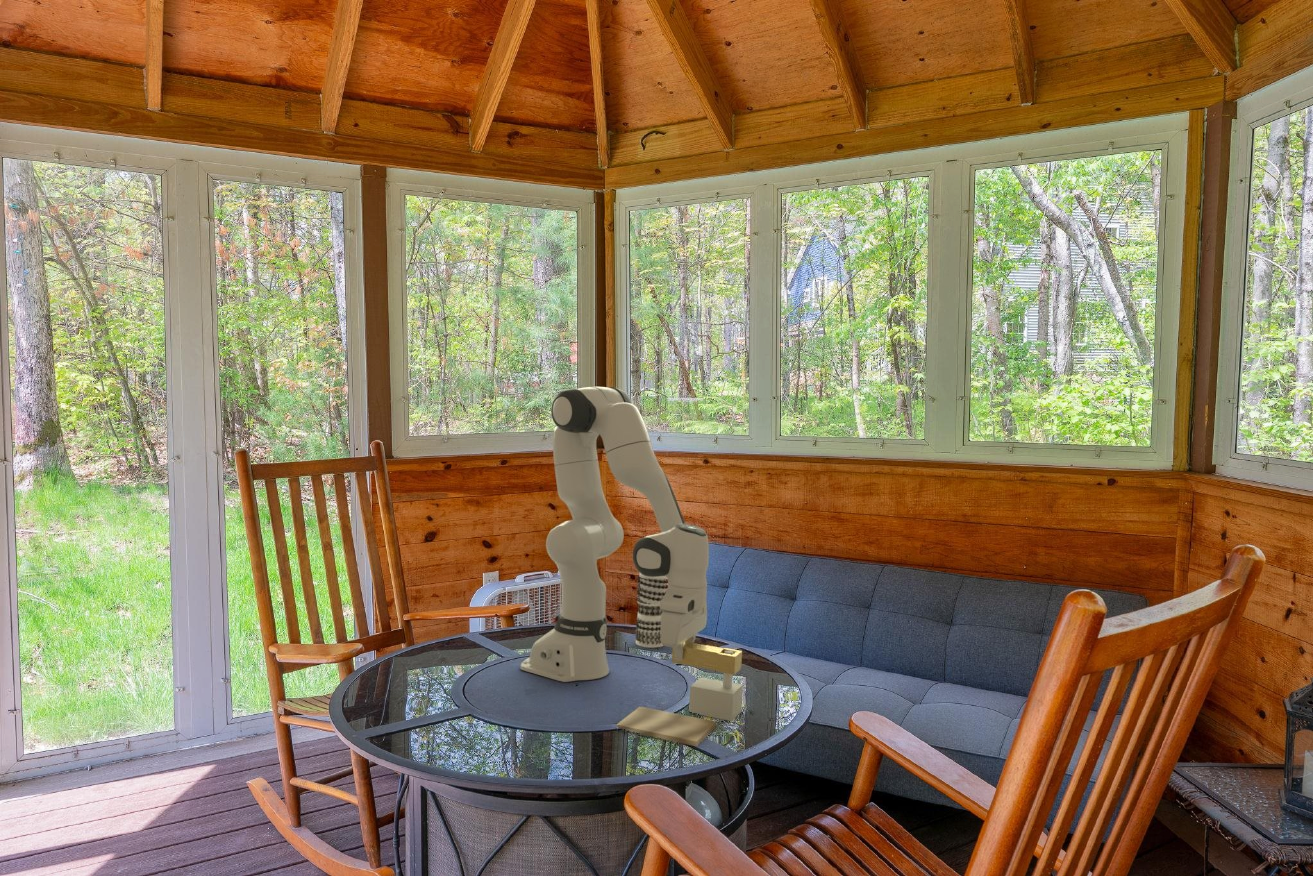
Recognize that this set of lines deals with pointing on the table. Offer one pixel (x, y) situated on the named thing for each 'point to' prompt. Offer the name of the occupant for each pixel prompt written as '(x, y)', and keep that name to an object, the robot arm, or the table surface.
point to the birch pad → (667, 725)
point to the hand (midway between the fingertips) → (683, 656)
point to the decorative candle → (649, 610)
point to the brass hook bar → (710, 658)
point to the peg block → (716, 697)
